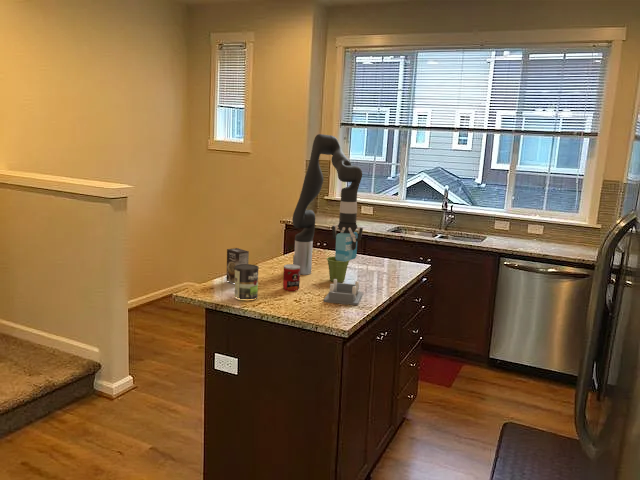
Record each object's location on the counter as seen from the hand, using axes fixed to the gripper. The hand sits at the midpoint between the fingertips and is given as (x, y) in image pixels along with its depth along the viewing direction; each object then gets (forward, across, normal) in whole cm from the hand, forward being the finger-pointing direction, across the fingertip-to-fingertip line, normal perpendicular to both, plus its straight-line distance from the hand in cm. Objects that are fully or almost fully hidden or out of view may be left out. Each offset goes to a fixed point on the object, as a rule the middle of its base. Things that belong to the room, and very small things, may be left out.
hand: (346, 249), depth 245 cm
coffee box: (+22, -53, +7) cm, 58 cm away
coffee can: (+22, -41, -15) cm, 49 cm away
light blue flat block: (+5, 0, 0) cm, 5 cm away
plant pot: (+22, -8, +29) cm, 37 cm away
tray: (+22, 0, 0) cm, 22 cm away
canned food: (+22, -26, +6) cm, 35 cm away
